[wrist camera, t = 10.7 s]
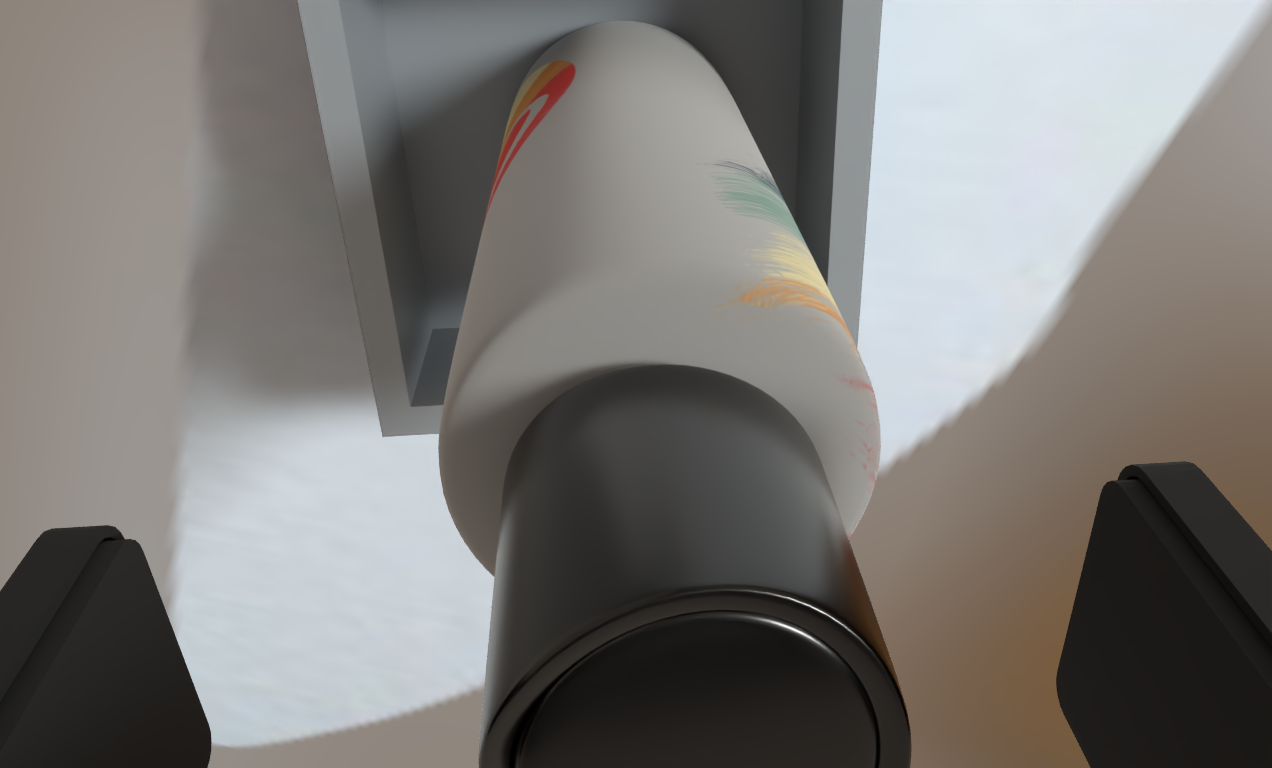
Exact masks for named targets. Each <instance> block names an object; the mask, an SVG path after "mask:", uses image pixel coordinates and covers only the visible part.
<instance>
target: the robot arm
mask: <svg viewBox="0 0 1272 768" xmlns="http://www.w3.org/2000/svg"><path fill="white" fill-rule="evenodd" d="M1056 682H1057V683H1056V685H1057V694H1058V699H1059V702H1060V706H1061V708H1062V711H1063V714H1064V716H1065V718H1066V720H1067V722H1068V724H1069V725H1070V728H1071V729H1072V731H1073V733H1074V735H1075V737H1076V739H1077V741H1078V743H1079V745H1080V747H1081V749H1082V751H1083V753H1084V755H1085V757H1086V759H1087V761H1088V763H1089V765H1090V767H1091V768H1272V551H1271V550H1270V548H1269V547H1268V546H1267V545H1266V544H1265V543H1264V541H1263V540H1262V539H1261V538H1260V537H1259V536H1258V535H1257V533H1256V532H1255V531H1254V530H1253V529H1252V528H1251V527H1250V526H1249V524H1248V523H1247V522H1246V521H1245V520H1244V519H1243V517H1242V516H1241V515H1240V514H1239V513H1238V512H1237V510H1236V509H1235V508H1234V507H1233V506H1232V505H1231V504H1230V502H1229V501H1228V500H1227V499H1226V498H1225V497H1224V496H1223V495H1222V493H1221V492H1220V491H1219V490H1218V489H1217V488H1216V487H1215V485H1214V484H1213V483H1212V482H1211V481H1210V480H1209V478H1208V477H1207V476H1206V475H1205V474H1204V473H1203V472H1202V470H1201V469H1199V468H1198V467H1197V466H1196V465H1195V464H1193V463H1189V462H1169V463H1153V464H1136V465H1130V466H1127V467H1125V468H1124V469H1123V470H1122V472H1121V473H1120V475H1119V477H1118V480H1117V481H1110V482H1107V483H1106V484H1105V485H1104V487H1103V489H1102V492H1101V495H1100V499H1099V503H1098V507H1097V511H1096V515H1095V519H1094V524H1093V528H1092V532H1091V536H1090V540H1089V544H1088V548H1087V552H1086V556H1085V560H1084V564H1083V569H1082V573H1081V577H1080V581H1079V585H1078V589H1077V593H1076V598H1075V601H1074V605H1073V610H1072V614H1071V618H1070V622H1069V626H1068V630H1067V634H1066V638H1065V643H1064V646H1063V651H1062V655H1061V659H1060V663H1059V667H1058V672H1057V678H1056ZM210 754H211V731H210V727H209V724H208V721H207V719H206V716H205V713H204V711H203V708H202V705H201V703H200V700H199V697H198V695H197V692H196V690H195V687H194V684H193V682H192V679H191V676H190V674H189V671H188V668H187V666H186V663H185V660H184V658H183V655H182V652H181V650H180V647H179V645H178V642H177V639H176V637H175V634H174V631H173V629H172V626H171V623H170V621H169V618H168V615H167V613H166V610H165V607H164V605H163V602H162V600H161V597H160V594H159V592H158V589H157V586H156V584H155V581H154V578H153V576H152V573H151V570H150V568H149V565H148V562H147V560H146V557H145V555H144V552H143V550H142V548H141V546H140V544H139V543H138V542H137V541H136V540H131V539H127V540H126V539H124V537H123V536H122V534H121V532H120V531H119V530H118V529H117V528H116V527H113V526H108V525H106V526H89V527H73V528H55V529H50V530H47V531H45V532H43V533H42V535H40V537H39V538H38V539H37V540H36V542H35V543H34V544H33V546H32V547H31V548H30V550H29V551H28V553H27V554H26V556H25V557H24V558H23V560H22V561H21V563H20V564H19V565H18V567H17V568H16V570H15V571H14V573H13V574H12V575H11V577H10V578H9V580H8V581H7V582H6V584H5V585H4V587H3V588H2V590H1V591H0V768H207V767H208V764H209V759H210Z"/></svg>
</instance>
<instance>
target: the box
mask: <svg viewBox="0 0 1272 768" xmlns="http://www.w3.org/2000/svg"><path fill="white" fill-rule="evenodd" d="M297 2H298V7H299V12H300V17H301V22H302V27H303V32H304V37H305V43H306V48H307V53H308V58H309V63H310V68H311V73H312V78H313V83H314V89H315V94H316V99H317V104H318V109H319V114H320V119H321V124H322V129H323V135H324V140H325V145H326V150H327V155H328V160H329V165H330V170H331V175H332V181H333V186H334V191H335V196H336V201H337V206H338V211H339V216H340V221H341V227H342V232H343V237H344V242H345V247H346V252H347V257H348V262H349V267H350V273H351V278H352V283H353V288H354V293H355V298H356V303H357V308H358V313H359V319H360V324H361V329H362V334H363V339H364V344H365V349H366V354H367V359H368V365H369V370H370V375H371V380H372V385H373V390H374V395H375V400H376V405H377V411H378V416H379V421H380V426H381V431H382V436H383V437H388V436H405V435H422V434H439V431H440V423H441V416H442V410H443V405H444V400H445V394H446V389H447V384H448V379H449V374H450V369H451V365H452V360H453V356H454V351H455V346H456V342H457V338H458V333H459V329H460V325H461V320H462V316H463V311H464V307H465V303H466V299H467V294H468V290H469V286H470V281H471V277H472V273H473V268H474V264H475V260H476V255H477V251H478V247H479V242H480V238H481V234H482V230H483V225H484V221H485V217H486V212H487V208H488V204H489V199H490V195H491V191H492V186H493V182H494V178H495V173H496V169H497V165H498V160H499V156H500V152H501V148H502V143H503V139H504V135H505V130H506V126H507V122H508V119H509V115H510V112H511V109H512V105H513V102H514V99H515V97H516V94H517V92H518V90H519V87H520V86H521V84H522V82H523V80H524V78H525V76H526V75H527V73H528V72H529V70H530V69H531V67H532V66H533V65H534V64H535V62H536V61H537V60H538V59H539V58H540V56H541V55H542V54H544V53H545V52H546V51H547V50H548V49H549V48H550V47H551V46H553V45H554V44H555V43H556V42H558V41H559V40H561V39H562V38H564V37H565V36H567V35H569V34H571V33H573V32H575V31H577V30H580V29H582V28H585V27H587V26H591V25H595V24H598V23H604V22H610V21H635V22H642V23H647V24H651V25H655V26H658V27H661V28H663V29H666V30H668V31H670V32H673V33H675V34H677V35H678V36H680V37H682V38H683V39H685V40H686V41H688V42H689V43H690V44H692V45H693V46H694V47H696V48H697V49H698V50H699V51H700V52H701V53H702V54H703V55H704V56H705V57H706V58H707V59H708V60H709V62H710V63H711V64H712V65H713V66H714V68H715V69H716V71H717V72H718V73H719V75H720V76H721V78H722V79H723V81H724V83H725V84H726V86H727V88H728V90H729V92H730V94H731V95H732V97H733V99H734V101H735V103H736V105H737V107H738V109H739V111H740V113H741V115H742V117H743V119H744V121H745V123H746V125H747V127H748V129H749V131H750V133H751V135H752V137H753V139H754V141H755V143H756V145H757V147H758V149H759V151H760V153H761V155H762V157H763V159H764V161H765V163H766V165H767V167H768V169H769V171H770V173H771V175H772V177H773V179H774V181H775V183H776V185H777V187H778V189H779V191H780V193H781V195H782V197H783V199H784V201H785V203H786V205H787V207H788V209H789V211H790V213H791V215H792V217H793V219H794V221H795V223H796V225H797V227H798V229H799V231H800V233H801V235H802V237H803V239H804V241H805V243H806V245H807V247H808V249H809V251H810V253H811V255H812V257H813V259H814V261H815V263H816V265H817V267H818V269H819V271H820V273H821V275H822V277H823V279H824V281H825V283H826V285H827V287H828V289H829V291H830V293H831V295H832V297H833V299H834V301H835V303H836V305H837V307H838V309H839V311H840V313H841V316H842V318H843V320H844V322H845V324H846V326H847V328H848V330H849V332H850V334H851V336H852V339H853V341H854V343H855V345H856V347H857V343H858V330H859V316H860V302H861V289H862V275H863V262H864V248H865V234H866V221H867V207H868V194H869V180H870V166H871V153H872V139H873V126H874V112H875V98H876V85H877V71H878V57H879V44H880V30H881V17H882V3H883V0H297Z"/></svg>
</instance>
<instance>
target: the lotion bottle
mask: <svg viewBox="0 0 1272 768" xmlns="http://www.w3.org/2000/svg"><path fill="white" fill-rule="evenodd" d="M880 448H881V441H880V423H879V416H878V410H877V403H876V398H875V395H874V391H873V388H872V384H871V381H870V379H869V376H868V374H867V371H866V369H865V366H864V364H863V361H862V359H861V357H860V354H859V352H858V350H857V347H856V345H855V343H854V341H853V339H852V336H851V334H850V332H849V330H848V328H847V326H846V324H845V322H844V320H843V318H842V316H841V313H840V311H839V309H838V307H837V305H836V303H835V301H834V299H833V297H832V295H831V293H830V291H829V289H828V287H827V285H826V283H825V281H824V279H823V277H822V275H821V273H820V271H819V269H818V267H817V265H816V263H815V261H814V259H813V257H812V255H811V253H810V251H809V249H808V247H807V245H806V243H805V241H804V239H803V237H802V235H801V233H800V231H799V229H798V227H797V225H796V223H795V221H794V219H793V217H792V215H791V213H790V211H789V209H788V207H787V205H786V203H785V201H784V199H783V197H782V195H781V193H780V191H779V189H778V187H777V185H776V183H775V181H774V179H773V177H772V175H771V173H770V171H769V169H768V167H767V165H766V163H765V161H764V159H763V157H762V155H761V153H760V151H759V149H758V147H757V145H756V143H755V141H754V139H753V137H752V135H751V133H750V131H749V129H748V127H747V125H746V123H745V121H744V119H743V117H742V115H741V113H740V111H739V109H738V107H737V105H736V103H735V101H734V99H733V97H732V95H731V94H730V92H729V90H728V88H727V86H726V84H725V83H724V81H723V79H722V78H721V76H720V75H719V73H718V72H717V71H716V69H715V68H714V66H713V65H712V64H711V63H710V62H709V60H708V59H707V58H706V57H705V56H704V55H703V54H702V53H701V52H700V51H699V50H698V49H697V48H696V47H694V46H693V45H692V44H690V43H689V42H688V41H686V40H685V39H683V38H682V37H680V36H678V35H677V34H675V33H673V32H670V31H668V30H666V29H663V28H661V27H658V26H655V25H651V24H647V23H642V22H635V21H610V22H604V23H598V24H595V25H591V26H587V27H585V28H582V29H580V30H577V31H575V32H573V33H571V34H569V35H567V36H565V37H564V38H562V39H561V40H559V41H558V42H556V43H555V44H554V45H553V46H551V47H550V48H549V49H548V50H547V51H546V52H545V53H544V54H542V55H541V56H540V58H539V59H538V60H537V61H536V62H535V64H534V65H533V66H532V67H531V69H530V70H529V72H528V73H527V75H526V76H525V78H524V80H523V82H522V84H521V86H520V87H519V90H518V92H517V94H516V97H515V99H514V102H513V105H512V109H511V112H510V115H509V119H508V122H507V126H506V130H505V135H504V139H503V143H502V148H501V152H500V156H499V160H498V165H497V169H496V173H495V178H494V182H493V186H492V191H491V195H490V199H489V204H488V208H487V212H486V217H485V221H484V225H483V230H482V234H481V238H480V242H479V247H478V251H477V255H476V260H475V264H474V268H473V273H472V277H471V281H470V286H469V290H468V294H467V299H466V303H465V307H464V311H463V316H462V320H461V325H460V329H459V333H458V338H457V342H456V346H455V351H454V356H453V360H452V365H451V369H450V374H449V379H448V384H447V389H446V394H445V400H444V405H443V410H442V416H441V423H440V431H439V446H438V449H439V467H440V476H441V481H442V487H443V493H444V496H445V499H446V503H447V506H448V509H449V512H450V514H451V517H452V519H453V521H454V524H455V526H456V528H457V530H458V531H459V533H460V535H461V537H462V538H463V540H464V542H465V543H466V545H467V546H468V547H469V549H470V550H471V552H472V553H473V554H474V556H475V557H476V558H477V559H478V560H479V562H480V563H481V564H482V565H483V566H484V567H485V568H486V569H487V570H488V571H489V572H490V573H491V574H492V575H493V576H494V577H495V579H494V590H493V600H492V611H491V622H490V633H489V644H488V654H487V665H486V676H485V687H484V697H483V709H482V719H481V731H480V743H479V768H910V763H911V762H910V761H911V729H910V724H909V718H908V713H907V709H906V705H905V701H904V698H903V694H902V691H901V688H900V685H899V682H898V678H897V675H896V672H895V669H894V666H893V663H892V661H891V658H890V655H889V652H888V649H887V647H886V644H885V641H884V638H883V635H882V632H881V629H880V626H879V624H878V621H877V618H876V615H875V613H874V610H873V607H872V604H871V601H870V598H869V595H868V593H867V590H866V587H865V584H864V581H863V578H862V576H861V573H860V570H859V567H858V564H857V562H856V558H855V556H854V553H853V550H852V547H851V544H850V541H849V539H848V538H849V537H850V536H851V534H852V533H853V531H854V530H855V528H856V526H857V525H858V523H859V521H860V519H861V517H862V516H863V514H864V511H865V509H866V507H867V505H868V502H869V500H870V497H871V494H872V491H873V488H874V485H875V482H876V477H877V472H878V467H879V460H880Z"/></svg>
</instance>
